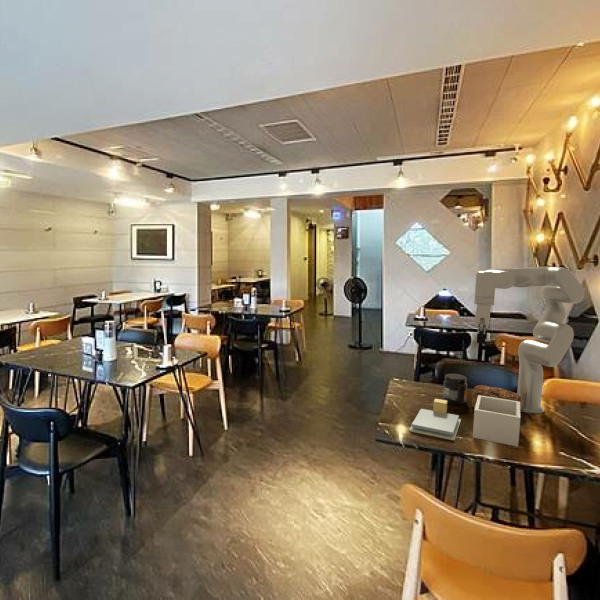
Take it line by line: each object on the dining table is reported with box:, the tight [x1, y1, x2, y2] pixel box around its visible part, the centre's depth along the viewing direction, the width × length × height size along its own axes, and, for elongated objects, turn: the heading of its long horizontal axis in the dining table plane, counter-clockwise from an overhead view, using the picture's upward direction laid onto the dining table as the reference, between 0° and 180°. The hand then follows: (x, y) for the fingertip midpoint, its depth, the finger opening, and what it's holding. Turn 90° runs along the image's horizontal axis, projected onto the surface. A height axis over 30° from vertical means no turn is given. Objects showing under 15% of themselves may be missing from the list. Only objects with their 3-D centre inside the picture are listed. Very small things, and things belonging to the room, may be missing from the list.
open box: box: [472, 395, 521, 447], centre depth 161 cm, size 18×15×11 cm
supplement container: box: [442, 373, 468, 405], centre depth 195 cm, size 10×10×12 cm
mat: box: [408, 418, 462, 441], centre depth 167 cm, size 21×17×1 cm
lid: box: [411, 398, 460, 435], centre depth 168 cm, size 21×15×7 cm
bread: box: [471, 384, 521, 409], centre depth 185 cm, size 19×11×10 cm, turn 52°
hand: (481, 341), depth 173 cm, fingers open, 9 cm apart
